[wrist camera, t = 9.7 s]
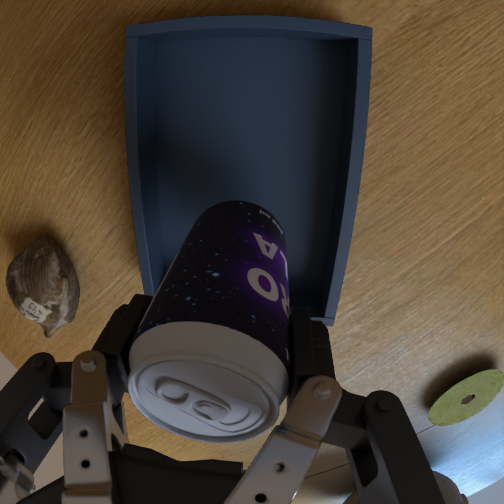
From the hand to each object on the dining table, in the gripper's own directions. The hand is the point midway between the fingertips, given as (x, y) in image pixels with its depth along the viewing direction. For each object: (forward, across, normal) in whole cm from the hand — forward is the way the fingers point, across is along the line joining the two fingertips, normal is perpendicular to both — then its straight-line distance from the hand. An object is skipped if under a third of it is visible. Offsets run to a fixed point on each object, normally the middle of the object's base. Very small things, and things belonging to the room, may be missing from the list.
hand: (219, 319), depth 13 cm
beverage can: (+8, 0, 0) cm, 8 cm away
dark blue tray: (+11, 0, -3) cm, 12 cm away
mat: (+11, -28, +21) cm, 36 cm away
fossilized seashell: (+11, +18, +7) cm, 22 cm away
